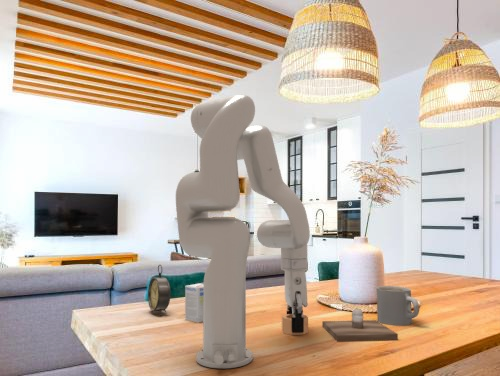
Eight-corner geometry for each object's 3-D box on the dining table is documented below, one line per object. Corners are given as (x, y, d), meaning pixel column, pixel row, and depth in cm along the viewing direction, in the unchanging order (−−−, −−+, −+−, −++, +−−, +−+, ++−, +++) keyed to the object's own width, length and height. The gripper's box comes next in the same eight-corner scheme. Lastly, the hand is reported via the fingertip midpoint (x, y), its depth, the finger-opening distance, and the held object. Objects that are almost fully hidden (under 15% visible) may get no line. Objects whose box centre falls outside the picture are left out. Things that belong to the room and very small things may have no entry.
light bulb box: (208, 313, 137) (208, 281, 138) (223, 316, 133) (223, 283, 134) (183, 319, 129) (184, 285, 130) (198, 323, 125) (199, 287, 125)
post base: (397, 339, 106) (397, 314, 107) (337, 341, 105) (336, 315, 106) (375, 325, 121) (375, 303, 122) (322, 326, 120) (322, 303, 121)
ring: (310, 334, 112) (309, 319, 112) (284, 335, 111) (284, 319, 112) (304, 327, 119) (304, 313, 119) (280, 328, 118) (280, 314, 119)
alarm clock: (146, 311, 141) (147, 263, 142) (161, 309, 144) (162, 262, 145) (157, 317, 132) (157, 266, 133) (173, 315, 134) (173, 265, 136)
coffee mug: (370, 319, 129) (370, 287, 130) (396, 316, 132) (395, 285, 133) (400, 329, 116) (399, 293, 117) (427, 326, 120) (426, 291, 121)
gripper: (314, 267, 108) (315, 336, 107) (301, 261, 125) (301, 320, 124) (286, 268, 108) (286, 337, 106) (276, 261, 125) (277, 321, 123)
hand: (294, 328), depth 115 cm, fingers open, 7 cm apart
